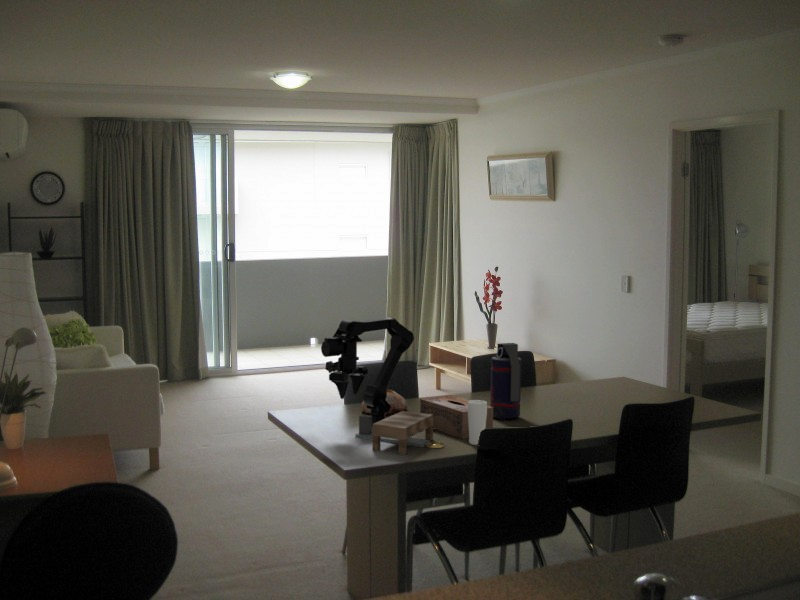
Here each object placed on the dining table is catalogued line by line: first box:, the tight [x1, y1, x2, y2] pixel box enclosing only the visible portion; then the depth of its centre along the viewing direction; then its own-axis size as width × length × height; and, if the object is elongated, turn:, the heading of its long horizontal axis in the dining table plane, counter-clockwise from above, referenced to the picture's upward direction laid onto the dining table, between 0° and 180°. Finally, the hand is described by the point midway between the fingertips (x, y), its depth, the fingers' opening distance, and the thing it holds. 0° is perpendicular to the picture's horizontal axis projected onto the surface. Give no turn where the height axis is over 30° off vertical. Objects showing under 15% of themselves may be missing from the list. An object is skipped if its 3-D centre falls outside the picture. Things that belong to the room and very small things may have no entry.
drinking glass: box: [468, 399, 488, 446], centre depth 291 cm, size 7×7×15 cm
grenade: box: [489, 342, 522, 421], centre depth 329 cm, size 14×12×30 cm
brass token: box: [426, 441, 445, 449], centre depth 288 cm, size 6×6×1 cm
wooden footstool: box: [371, 410, 434, 456], centre depth 289 cm, size 23×12×9 cm, turn 153°
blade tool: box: [354, 414, 430, 448], centre depth 295 cm, size 6×26×8 cm, turn 63°
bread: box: [361, 389, 408, 416], centre depth 340 cm, size 16×20×10 cm
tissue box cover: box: [419, 394, 494, 439], centre depth 313 cm, size 26×14×10 cm, turn 35°
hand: (348, 396), depth 305 cm, fingers open, 9 cm apart
